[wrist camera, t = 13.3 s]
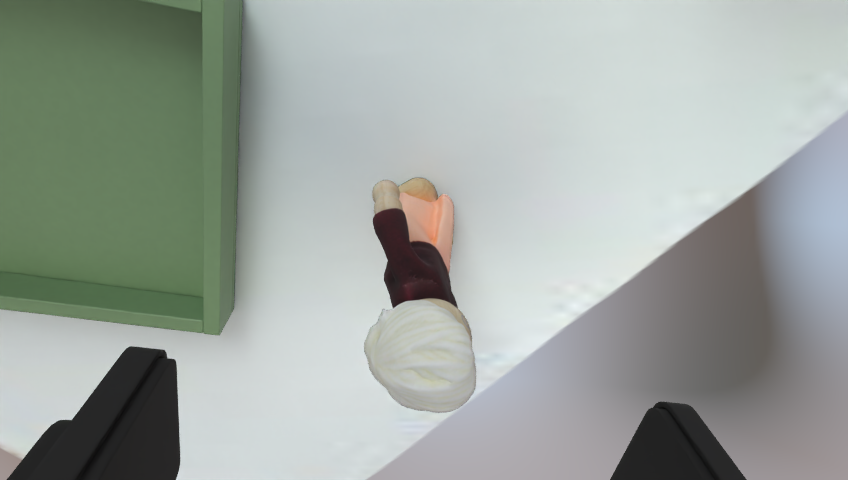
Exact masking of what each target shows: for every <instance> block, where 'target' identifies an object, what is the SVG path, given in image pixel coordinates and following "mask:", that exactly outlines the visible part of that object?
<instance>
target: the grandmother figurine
mask: <svg viewBox="0 0 848 480" xmlns="http://www.w3.org/2000/svg"><path fill="white" fill-rule="evenodd" d="M372 194H373V200H374V202H375V205H374V213H375V216H374V218H373V225H374V229H375V232H376V235H377V236H378V239H379V240H380V242H381V245H382V247H383V249H384V251H385V254H386V257H387V259H388V262H387V267H386V270H385V273H384V281H385V284H386V286H387V289H388V291H389V294H390V299H391V303H392V307H393V309H391V310H385V309H383V310H382V313H381V315H380V316H379V319H378V322H377V323H376V324H375V325H373V326H372V327H371V328H370V330H369V332H368V335H367V338H366V340H365V343H364V352H365V354H366V356H367V359H368V364H369V368H370V371H371V372H372V374H373V376H374V377H375V379H376V380H377V381H378V382H379V383H381V384H382V385H383V386H384V387H385V388H386V389H387V390H388V392H389V394H390V395H391V397H392V398H393V399H394V400H396V401H397V402H398V403H399V404H401V405H402V406H405V407H407V408H411V409H414V410H420V411H430V412H436V413H440V412H450V411H453V410H455V409H458V408H459V407H461V406H462V405H463V404H465V403H466V402H467V401H468V400H469V398H470V396H471V395H472V394H473V392H474V390H475V386H476V367H475V357H474V353H473V350H472V335H471V330H470V327H469V324H468V322H467V320H466V318H465V316H464V315H463V314H462V312H461V311H460V310H459V309H458V307H457V304H456V301H455V298H454V296H453V294H452V291H451V286H450V279H449V270H450V258H451V249H452V244H453V228H454V206H453V202H452V200H451V199H450V197H449V196H448V195H445V194H442V195H441V196H440V197H439V198H438V197H437V192H436V190H435V188H434V186H433V184H432V183H431V182H429V181H428V180H426V179H424V178H413V179H411V180H409V181H407V182H405V183H404V184H402V185H400V186H399V187H398V186H397V185H396V184H395V183H394V182H392V181H389V180H383V181H380V182H378V183H377V184H376V185H375V186H374V188H373V191H372Z"/></svg>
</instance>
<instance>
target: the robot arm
mask: <svg viewBox="0 0 848 480" xmlns="http://www.w3.org/2000/svg"><path fill="white" fill-rule="evenodd" d="M179 466H180V442H179V417H178V393H177V368H176V361H175V360H174V359H167V354H166V352H165V350H160V349H151V348H141V347H131V346H130V347H128V348H127V349H126V350H125V351H124V352H123V353H122V354H121V356H120V357H119V358H118V360H117V361H116V362H115V364H114V365H113V366H112V368H111V369H110V370H109V372H108V373H107V374H106V376H105V377H104V378H103V380H102V381H101V382H100V384H99V385H98V386H97V388H96V389H95V390H94V392H93V393H92V394H91V396H90V397H89V398H88V400H87V401H86V402H85V404H84V405H83V406H82V407H81V409H80V410H79V411H78V413H77V414H76V415H75V417H74V418H73V419H72V420H59V421H57V422H56V423H54V424H53V425H51V426H50V427H49V428H48V429H47V430H46V431H45V433H44V434H43V435H42V436H41V437H40V439H39V440H38V441H37V442H36V444H35V445H34V446H33V447H32V449H31V450H30V451H29V452H28V454H27V455H26V456H25V457H24V459H23V460H22V461H21V463H20V464H19V465H18V466H17V468H16V469H15V470H14V471H13V473H12V474H11V475H10V476H9V478H8V479H7V480H176V478H177V474H178V471H179ZM610 480H746V479H745V477H744V476H743V474H742V473H741V472H740V470H739V469H738V468H737V466H736V465H735V464H734V462H733V461H732V459H731V458H730V457H729V455H728V454H727V453H726V451H725V450H724V449H723V447H722V446H721V445H720V443H719V442H718V441H717V439H716V438H715V437H714V435H713V434H712V433H711V431H710V430H709V429H708V427H707V426H706V425H705V423H704V422H703V420H702V419H701V418H700V416H699V415H698V414H697V412H696V411H695V410H694V409H693V408H692V407H691V406H689V405H687V404H680V403H670V402H658V403H656V404H655V406H654V407H653V408H651V409H649V410H648V411H647V412H646V414H645V416H644V418H643V420H642V421H641V423H640V425H639V427H638V429H637V431H636V433H635V434H634V436H633V438H632V440H631V442H630V444H629V446H628V448H627V449H626V451H625V453H624V455H623V457H622V459H621V461H620V462H619V464H618V466H617V468H616V470H615V472H614V473H613V475H612V477H611V479H610Z"/></svg>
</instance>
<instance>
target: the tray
mask: <svg viewBox="0 0 848 480" xmlns="http://www.w3.org/2000/svg"><path fill="white" fill-rule="evenodd" d="M242 4H243V0H0V309H4V310H13V311H21V312H29V313H38V314H46V315H55V316H63V317H71V318H80V319H88V320H97V321H105V322H113V323H122V324H130V325H138V326H147V327H155V328H164V329H172V330H180V331H189V332H197V333H203V332H204V334H211V335H220V334H221V332H222V330H223V328H224V326H225V324H226V322H227V321H228V319H229V317H230V315H231V313H232V311H233V309H234V287H235V251H236V216H237V181H238V146H239V110H240V75H241V40H242Z"/></svg>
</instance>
